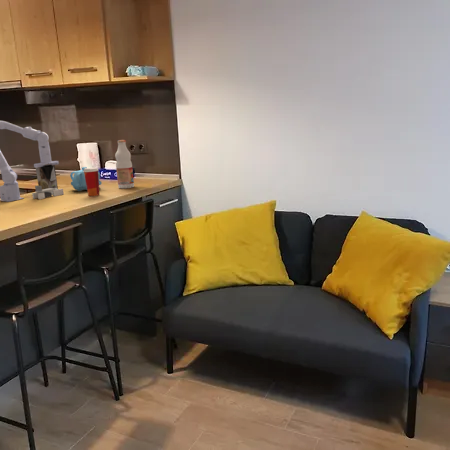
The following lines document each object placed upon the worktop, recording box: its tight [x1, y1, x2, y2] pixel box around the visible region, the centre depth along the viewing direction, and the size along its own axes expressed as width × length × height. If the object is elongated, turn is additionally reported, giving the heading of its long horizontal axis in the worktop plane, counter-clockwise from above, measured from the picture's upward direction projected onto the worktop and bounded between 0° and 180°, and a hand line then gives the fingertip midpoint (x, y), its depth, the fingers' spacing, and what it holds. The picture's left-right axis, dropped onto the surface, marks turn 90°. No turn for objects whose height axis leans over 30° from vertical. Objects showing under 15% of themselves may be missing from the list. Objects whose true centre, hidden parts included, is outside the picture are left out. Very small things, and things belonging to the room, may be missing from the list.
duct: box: [31, 187, 65, 200], centre depth 261 cm, size 16×6×3 cm, turn 146°
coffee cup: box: [83, 167, 100, 197], centre depth 256 cm, size 8×8×15 cm
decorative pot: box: [69, 166, 103, 192], centre depth 277 cm, size 16×16×14 cm
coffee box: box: [35, 165, 59, 189], centre depth 274 cm, size 9×6×16 cm
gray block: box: [44, 192, 53, 199], centre depth 261 cm, size 4×4×2 cm
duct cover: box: [34, 185, 55, 193], centre depth 259 cm, size 9×5×3 cm, turn 146°
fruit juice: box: [114, 139, 135, 189], centre depth 276 cm, size 9×9×28 cm
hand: (48, 178), depth 260 cm, fingers closed
